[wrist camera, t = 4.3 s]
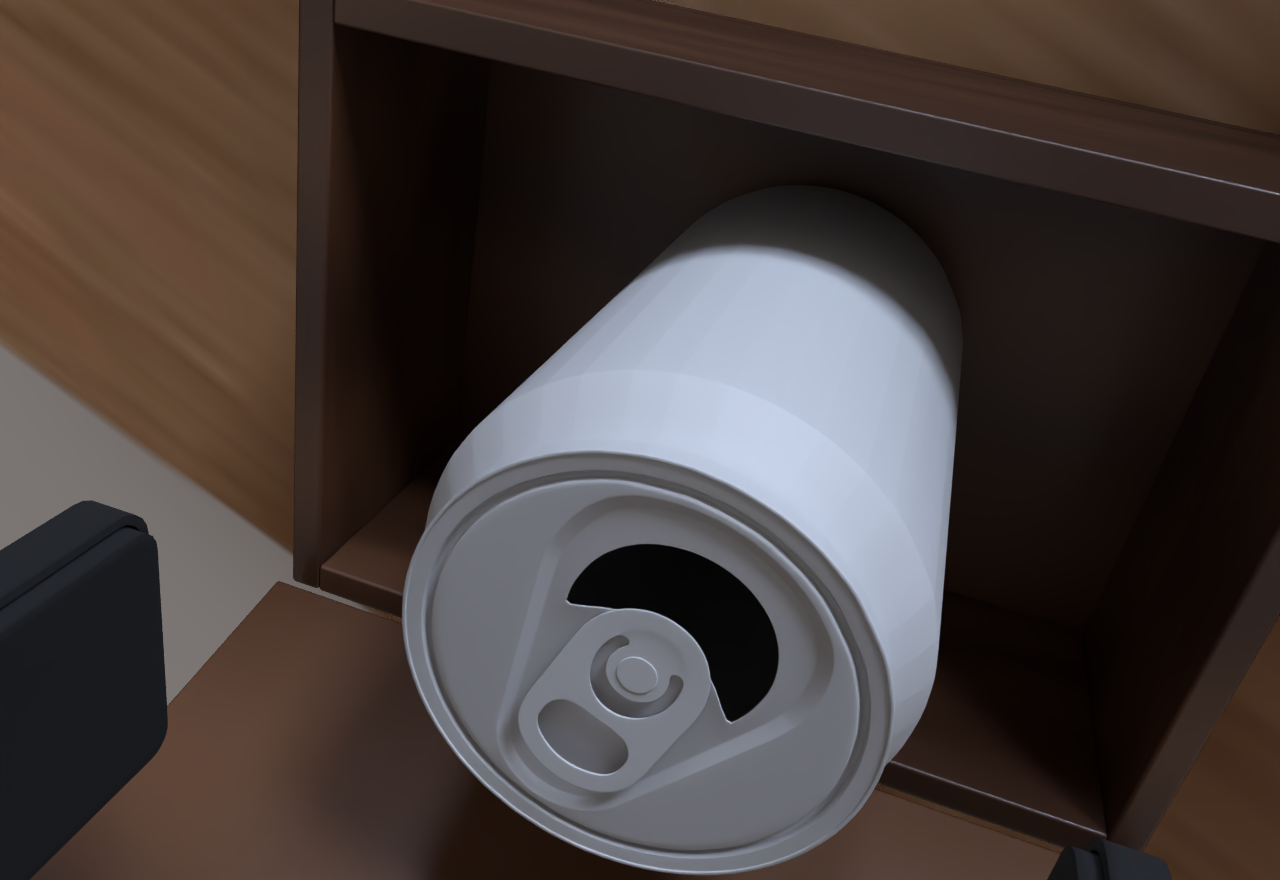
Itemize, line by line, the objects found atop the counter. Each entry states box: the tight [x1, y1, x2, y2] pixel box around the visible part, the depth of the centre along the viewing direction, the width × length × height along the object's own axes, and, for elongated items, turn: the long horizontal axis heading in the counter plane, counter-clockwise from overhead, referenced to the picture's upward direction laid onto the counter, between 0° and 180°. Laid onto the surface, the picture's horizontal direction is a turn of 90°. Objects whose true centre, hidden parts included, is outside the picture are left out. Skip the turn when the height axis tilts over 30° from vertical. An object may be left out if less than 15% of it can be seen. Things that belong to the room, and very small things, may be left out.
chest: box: [293, 0, 1280, 852], centre depth 19 cm, size 11×16×7 cm
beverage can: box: [402, 185, 963, 875], centre depth 16 cm, size 6×6×12 cm
